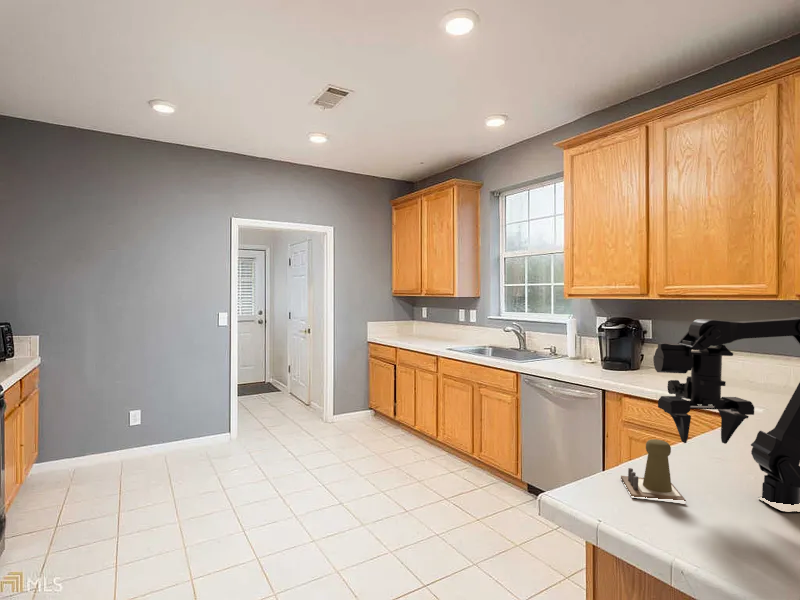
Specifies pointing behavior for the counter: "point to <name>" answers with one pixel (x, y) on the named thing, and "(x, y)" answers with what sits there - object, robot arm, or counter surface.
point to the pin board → (638, 490)
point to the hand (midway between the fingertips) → (704, 442)
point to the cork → (657, 466)
